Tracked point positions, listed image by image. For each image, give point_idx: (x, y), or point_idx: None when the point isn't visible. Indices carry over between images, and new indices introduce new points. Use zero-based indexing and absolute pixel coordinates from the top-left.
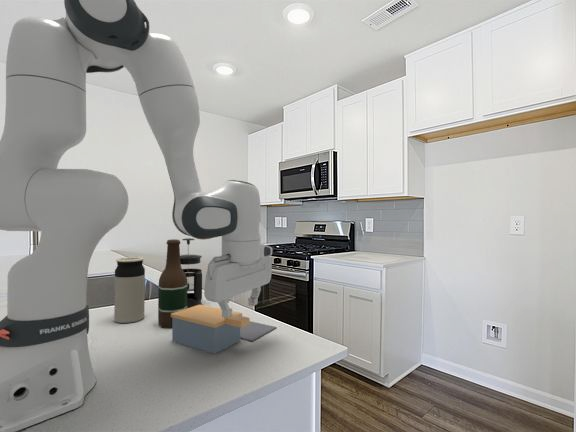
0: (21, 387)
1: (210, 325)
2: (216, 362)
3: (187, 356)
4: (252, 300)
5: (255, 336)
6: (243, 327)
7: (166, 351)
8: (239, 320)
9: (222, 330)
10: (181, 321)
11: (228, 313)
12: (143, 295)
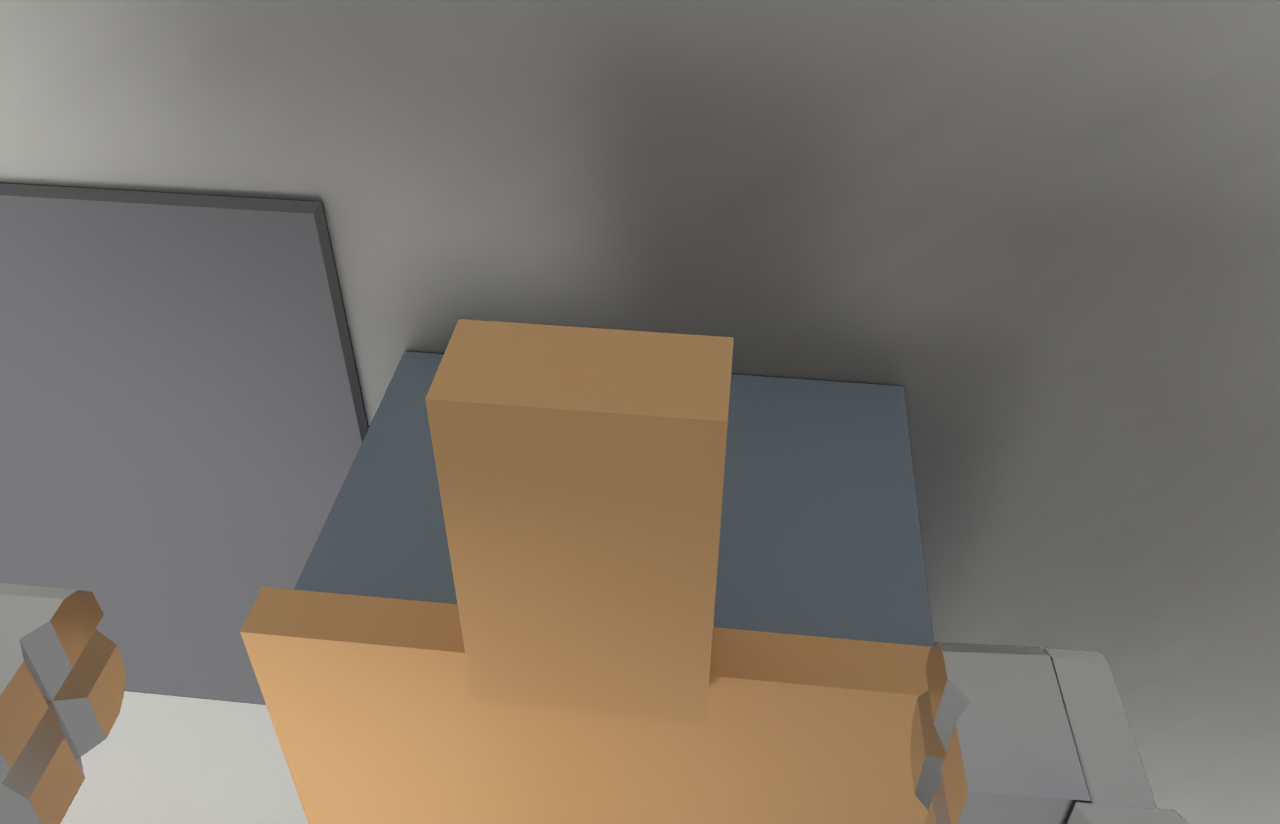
0: None
1: None
2: (1112, 242)
3: (1070, 570)
4: (24, 722)
5: (185, 248)
6: (107, 509)
7: None
8: (697, 477)
9: (755, 565)
10: None
11: (1118, 729)
12: None
